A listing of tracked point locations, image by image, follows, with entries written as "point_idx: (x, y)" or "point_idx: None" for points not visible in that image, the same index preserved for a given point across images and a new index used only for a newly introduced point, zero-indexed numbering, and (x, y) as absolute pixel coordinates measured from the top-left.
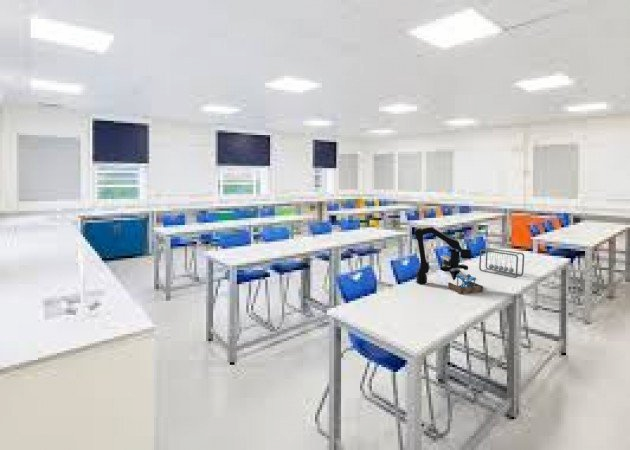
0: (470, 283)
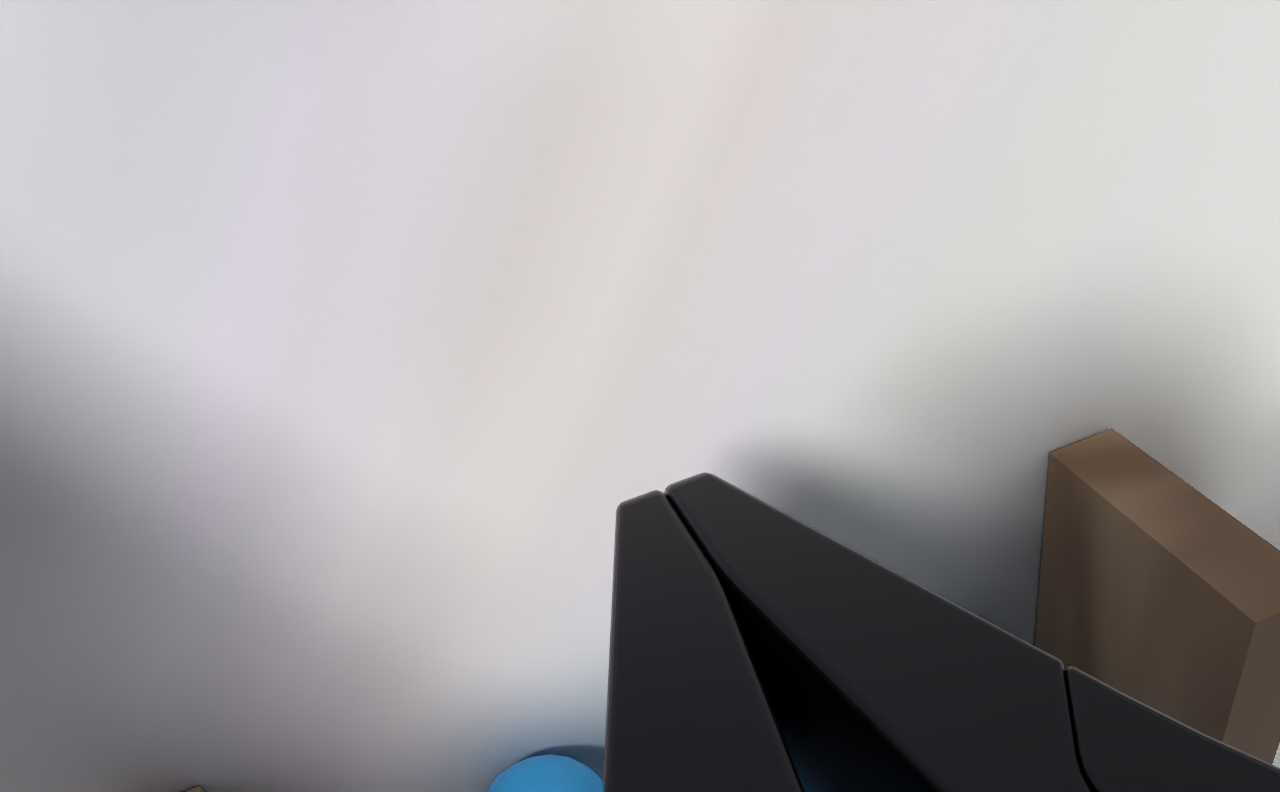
0: (1163, 709)
